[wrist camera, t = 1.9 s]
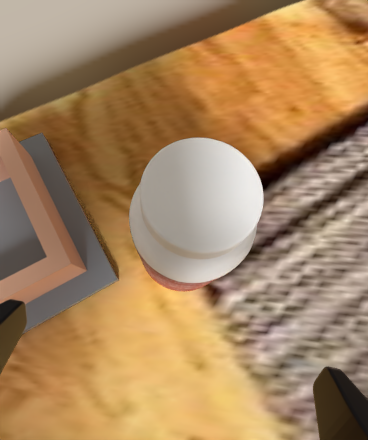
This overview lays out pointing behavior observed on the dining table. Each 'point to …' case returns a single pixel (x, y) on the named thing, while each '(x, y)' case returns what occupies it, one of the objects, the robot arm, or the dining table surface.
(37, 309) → the bottle stand
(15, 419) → the dining table surface
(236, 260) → the pill bottle
